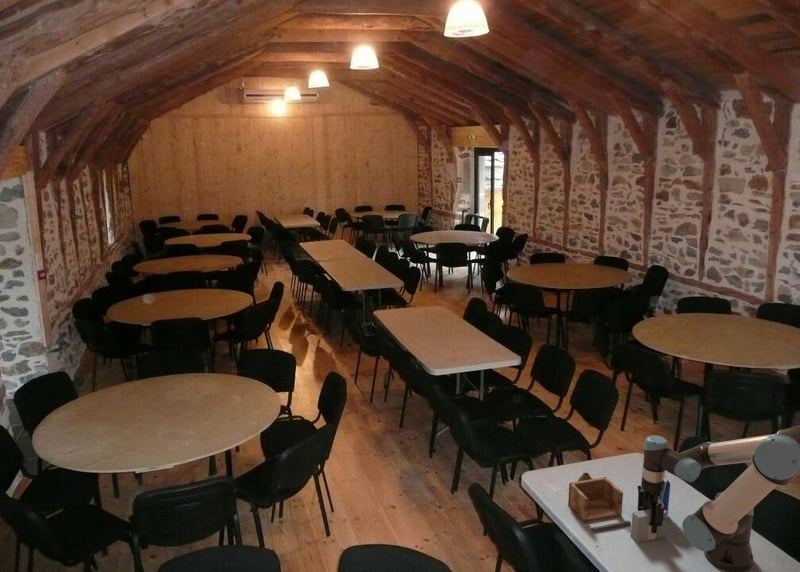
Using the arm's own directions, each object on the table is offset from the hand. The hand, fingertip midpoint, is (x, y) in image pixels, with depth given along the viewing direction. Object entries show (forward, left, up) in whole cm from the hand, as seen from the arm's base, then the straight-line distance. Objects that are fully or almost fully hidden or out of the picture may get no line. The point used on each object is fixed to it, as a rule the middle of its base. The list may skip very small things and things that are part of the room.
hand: (647, 535), depth 239 cm
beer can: (+11, -11, 0) cm, 15 cm away
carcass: (+17, +10, 0) cm, 19 cm away
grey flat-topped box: (0, 0, 0) cm, 0 cm away
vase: (+32, +7, 0) cm, 33 cm away
